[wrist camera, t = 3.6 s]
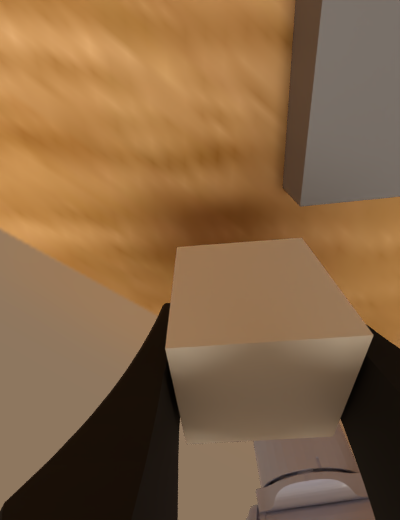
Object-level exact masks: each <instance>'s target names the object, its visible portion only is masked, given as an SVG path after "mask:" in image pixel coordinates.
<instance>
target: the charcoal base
mask: <svg viewBox="0 0 400 520" xmlns="http://www.w3.org/2000/svg"><path fill="white" fill-rule="evenodd" d="M283 189H284V190H285V191H286V192H287V193H288V194H289V195H290V196H291V197H292V198H293V199H294V201H295V202H296V203H297V204H298V205H299V206H310V205H320V204H330V203H340V202H350V201H360V200H370V199H380V198H390V197H400V0H296V3H295V18H294V32H293V46H292V61H291V75H290V90H289V104H288V119H287V133H286V147H285V162H284V176H283Z"/></svg>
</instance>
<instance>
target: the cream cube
mask: <svg viewBox="0 0 400 520" xmlns="http://www.w3.org/2000/svg"><path fill="white" fill-rule="evenodd" d="M373 336H374V335H373V334H372V332H371V331H370V330H369V328H368V327H367V326H366V324H365V323H364V321H363V320H362V319H361V317H360V316H359V315H358V313H357V312H356V311H355V309H354V308H353V306H352V305H351V304H350V302H349V301H348V300H347V298H346V297H345V296H344V294H343V293H342V291H341V290H340V289H339V287H338V286H337V285H336V283H335V282H334V281H333V279H332V278H331V277H330V275H329V274H328V272H327V271H326V270H325V268H324V267H323V266H322V264H321V263H320V262H319V260H318V259H317V257H316V256H315V255H314V253H313V252H312V251H311V249H310V248H309V247H308V245H307V244H306V242H305V241H304V240H303V238H291V239H277V240H264V241H251V242H237V243H224V244H211V245H197V246H184V247H177V251H176V260H175V269H174V277H173V286H172V294H171V303H170V311H169V320H168V328H167V337H166V345H165V350H166V355H167V359H168V364H169V368H170V373H171V377H172V382H173V386H174V391H175V395H176V400H177V404H178V409H179V413H180V417H181V422H182V426H183V430H184V435H185V440H186V444H203V443H221V442H239V441H240V442H241V441H259V440H278V439H297V438H315V437H333V435H334V433H335V430H336V428H337V425H338V423H339V420H340V418H341V415H342V413H343V410H344V408H345V405H346V403H347V400H348V398H349V396H350V393H351V391H352V388H353V386H354V383H355V381H356V378H357V376H358V373H359V371H360V368H361V366H362V363H363V361H364V358H365V356H366V353H367V351H368V348H369V346H370V343H371V341H372V338H373Z"/></svg>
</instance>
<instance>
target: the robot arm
mask: <svg viewBox="0 0 400 520" xmlns="http://www.w3.org/2000/svg"><path fill="white" fill-rule="evenodd" d="M169 311H170V303H165V304H164V305H163V307H162V309H161V311H160V313H159V316H158V318H157V320H156V322H155V324H154V326H153V327H152V330H151V331H150V333H149V335H148V336H147V338H146V340H145V342H144V343H143V345H142V347H141V349H140V350H139V352H138V353H137V355H136V357H135V358H134V359H133V361H132V363H131V364H130V366H129V367H128V369H127V370H126V372H125V373H124V374H123V376H122V377H121V379H120V380H119V381H118V383H117V384H116V385H115V387H114V388H113V389H112V391H111V392H110V393H109V394H108V396H107V397H106V398H105V399H104V401H103V402H102V403H101V404H100V406H99V407H98V408H97V409H96V410H95V412H94V413H93V414H92V415H91V416H90V417H89V419H88V420H87V421H86V422H85V423H84V424H83V425H82V426H81V428H80V429H79V430H78V431H77V432H76V433H75V434H74V435H73V436H72V437H71V438H70V439H69V440H68V441H67V442H66V443H65V444H64V446H63V447H62V448H61V449H60V450H59V451H58V452H57V453H56V454H55V455H54V456H53V457H52V458H51V459H50V460H49V461H48V462H47V463H46V464H45V465H44V466H43V467H42V468H41V469H40V470H39V471H38V472H37V473H36V474H34V475H33V476H32V477H31V478H30V479H29V480H28V481H27V482H26V483H25V484H24V485H23V486H22V487H21V488H20V489H19V490H18V491H17V492H16V493H14V494H13V495H12V496H11V497H10V498H9V499H8V500H7V501H6V502H5V503H4V505H3V507H2V509H1V511H0V520H177V517H178V513H177V512H178V506H177V505H178V449H179V448H178V447H179V446H178V445H179V423H180V413H179V409H178V404H177V400H176V395H175V391H174V386H173V382H172V377H171V373H170V368H169V364H168V359H167V355H166V350H165V345H166V337H167V328H168V320H169ZM366 326H367V327H368V328H369V330H370V331H371V332H372V334H373V335H374V336H373V338H372V341H371V343H370V346H369V348H368V351H367V353H366V356H365V358H364V361H363V363H362V366H361V368H360V371H359V373H358V376H357V378H356V381H355V383H354V386H353V388H352V391H351V393H350V396H349V398H348V400H347V403H346V405H345V408H344V410H343V413H342V415H341V418H340V419H341V421H342V423H343V426H344V428H345V431H346V434H347V436H348V440H349V442H350V445H351V448H352V450H353V453H354V456H355V458H354V456H353V454H352V452H351V449H350V447H349V445H348V442H347V440H346V438H345V435H344V433H343V431H342V429H341V427H340V424H339V423H338V425H337V428H336V430H335V433H334V435H333V437H315V438H297V439H278V440H259V441H253V442H254V448H255V454H256V460H257V466H258V472H259V477H260V484H261V488H259V489H256V494H257V501H258V505H253V506H251V508H250V511H249V514H248V516H247V518H246V520H400V349H399V348H398V347H397V346H395V345H394V344H392V343H391V342H389V341H388V340H387V339H385V338H384V337H382V336H381V335H380V334H378V333H377V332H376V331H374V330H373V329H372V328H370V327H369V326H368V325H366ZM355 459H356V461H355ZM356 462H357V463H356Z"/></svg>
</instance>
